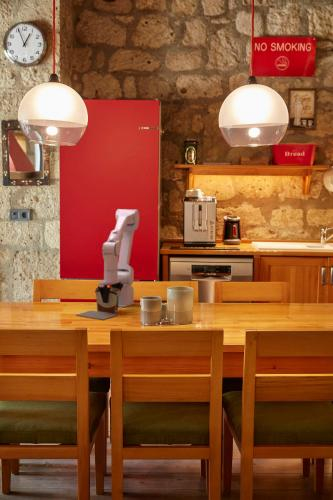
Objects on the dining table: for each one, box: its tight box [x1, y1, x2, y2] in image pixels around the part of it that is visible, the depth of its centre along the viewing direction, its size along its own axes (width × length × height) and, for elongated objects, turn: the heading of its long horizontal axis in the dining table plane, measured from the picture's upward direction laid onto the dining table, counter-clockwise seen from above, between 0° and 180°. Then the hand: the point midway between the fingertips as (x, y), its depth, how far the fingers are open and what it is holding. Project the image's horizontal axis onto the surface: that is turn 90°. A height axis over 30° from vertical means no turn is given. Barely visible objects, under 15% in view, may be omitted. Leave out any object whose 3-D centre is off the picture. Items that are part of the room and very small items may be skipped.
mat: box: [75, 310, 119, 321], centre depth 229 cm, size 10×14×1 cm
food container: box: [94, 287, 121, 315], centre depth 236 cm, size 12×6×10 cm, turn 59°
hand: (110, 301), depth 236 cm, fingers open, 7 cm apart
